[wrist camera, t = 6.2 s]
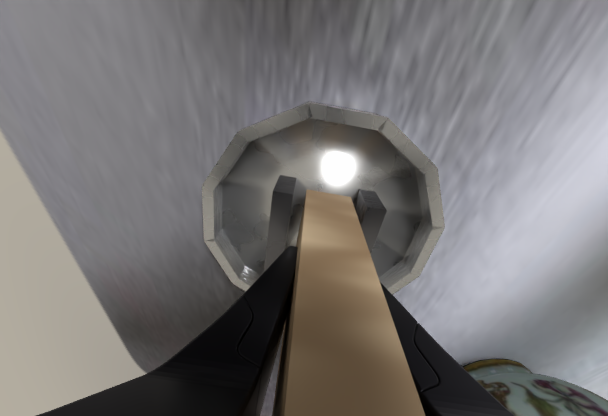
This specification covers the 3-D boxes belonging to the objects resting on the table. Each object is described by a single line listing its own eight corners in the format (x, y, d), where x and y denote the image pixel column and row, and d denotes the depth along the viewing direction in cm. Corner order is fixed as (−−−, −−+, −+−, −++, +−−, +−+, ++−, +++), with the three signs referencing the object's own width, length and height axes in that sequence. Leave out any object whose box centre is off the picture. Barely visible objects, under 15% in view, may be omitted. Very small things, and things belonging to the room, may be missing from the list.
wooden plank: (350, 196, 10) (433, 441, 3) (331, 265, 12) (353, 521, 5) (306, 189, 10) (284, 418, 3) (293, 259, 12) (259, 509, 5)
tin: (466, 131, 10) (510, 141, 8) (385, 304, 15) (397, 341, 13) (215, 84, 10) (185, 80, 7) (216, 278, 15) (198, 311, 12)
